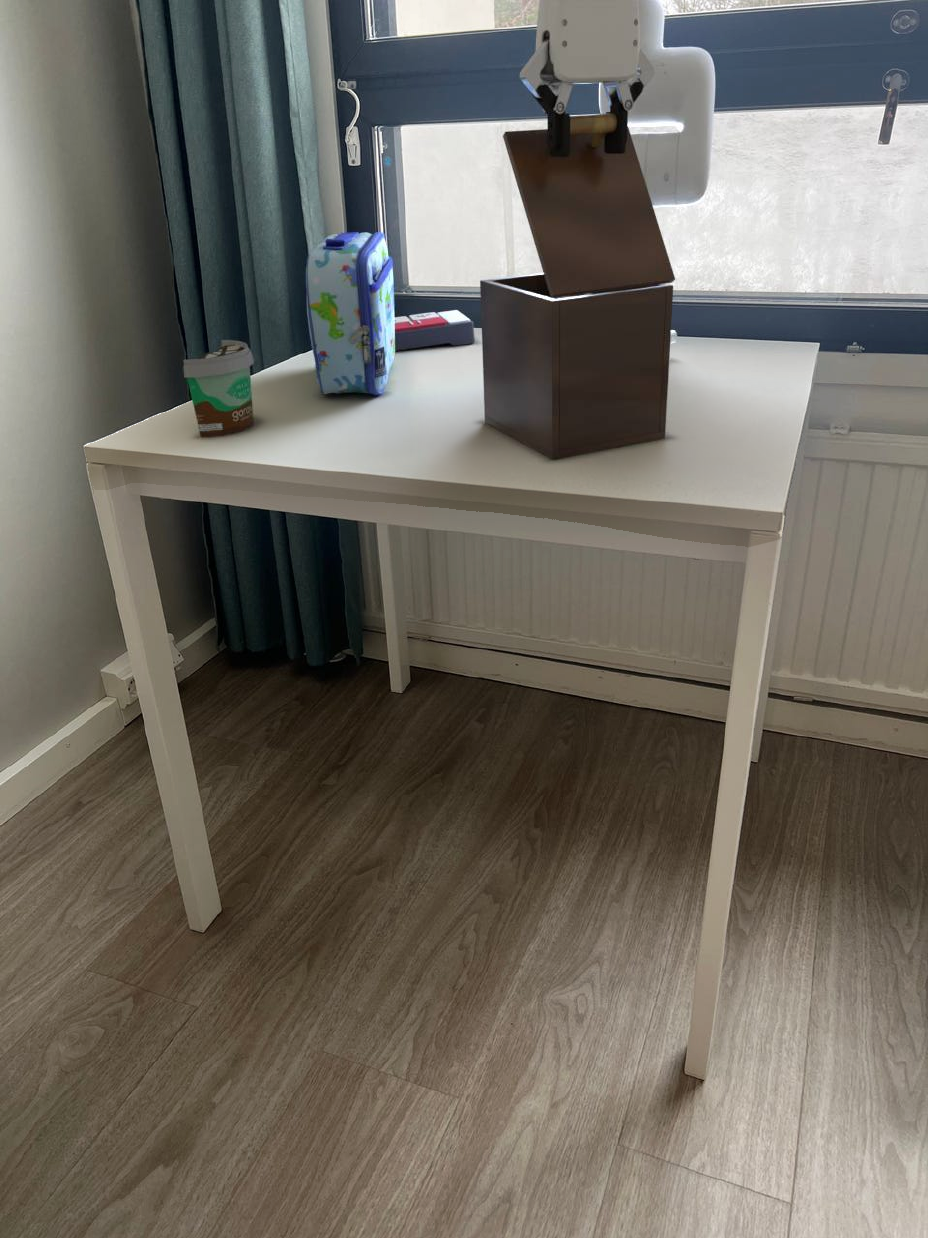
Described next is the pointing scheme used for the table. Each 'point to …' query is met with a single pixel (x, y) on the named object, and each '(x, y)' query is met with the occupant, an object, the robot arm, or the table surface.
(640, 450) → the table surface
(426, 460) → the table surface
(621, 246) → the chest lid
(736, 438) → the table surface
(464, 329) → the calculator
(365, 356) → the lunch box
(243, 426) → the food container
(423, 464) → the table surface
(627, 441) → the chest
